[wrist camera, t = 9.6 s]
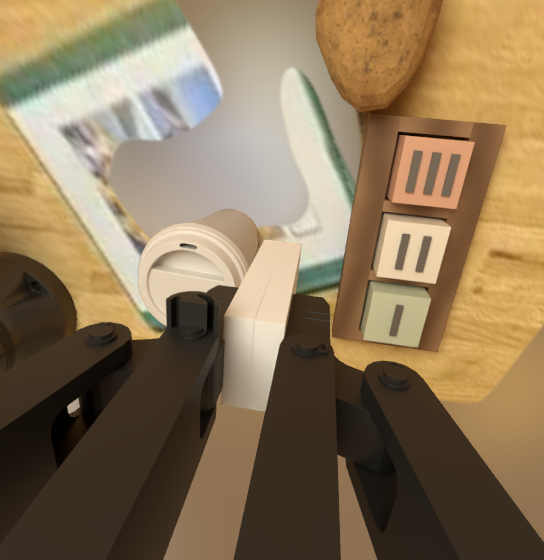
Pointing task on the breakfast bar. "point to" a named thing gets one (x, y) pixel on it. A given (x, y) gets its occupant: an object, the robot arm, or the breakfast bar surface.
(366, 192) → the board
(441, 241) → the tile
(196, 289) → the coffee cup
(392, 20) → the potato
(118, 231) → the breakfast bar surface
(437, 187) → the tile
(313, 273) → the breakfast bar surface
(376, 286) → the slotted block
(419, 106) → the breakfast bar surface
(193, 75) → the breakfast bar surface
